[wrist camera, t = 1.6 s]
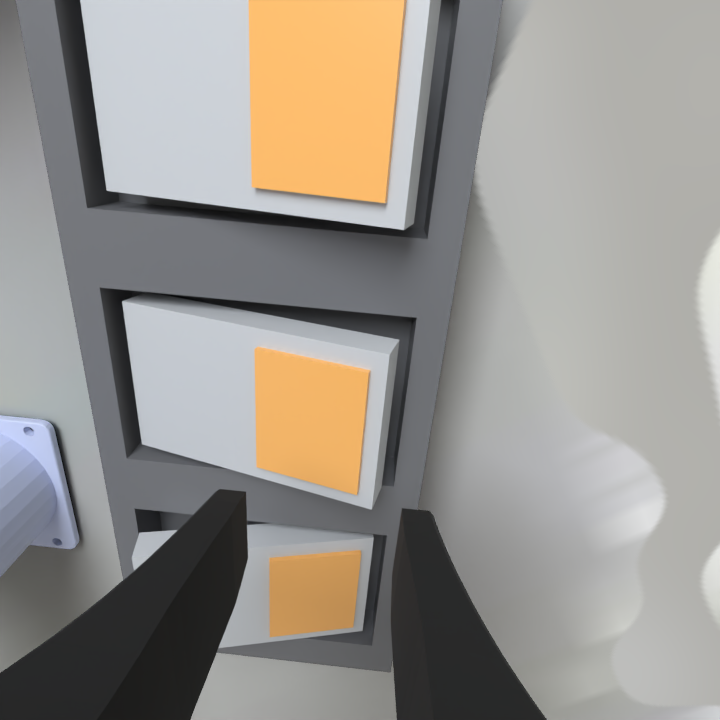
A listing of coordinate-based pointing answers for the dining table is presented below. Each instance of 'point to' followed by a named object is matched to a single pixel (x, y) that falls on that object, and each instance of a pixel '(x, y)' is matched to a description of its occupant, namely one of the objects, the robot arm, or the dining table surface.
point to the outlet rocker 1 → (263, 394)
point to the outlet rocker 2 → (292, 582)
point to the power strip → (262, 300)
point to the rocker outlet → (265, 102)
